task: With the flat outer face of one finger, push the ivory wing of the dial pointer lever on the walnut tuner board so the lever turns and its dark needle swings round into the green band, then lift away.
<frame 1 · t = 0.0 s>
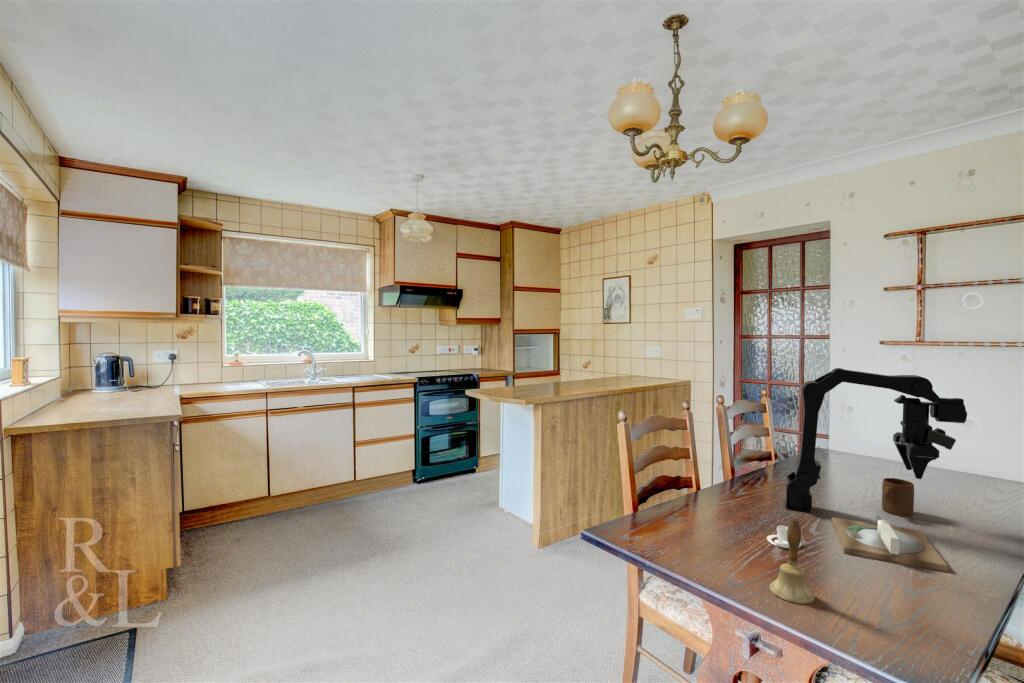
hand: (913, 474, 137), 15 cm above the table, tool pointing down, fingers open, 9 cm apart
hand bell: (791, 594, 102), on the table
mug: (894, 514, 146), on the table
tuner board: (883, 544, 125), on the table
dial pointer lever: (885, 532, 123), point 4 cm above the table, hinge at 0.0°
teacup and saucer: (771, 543, 127), on the table
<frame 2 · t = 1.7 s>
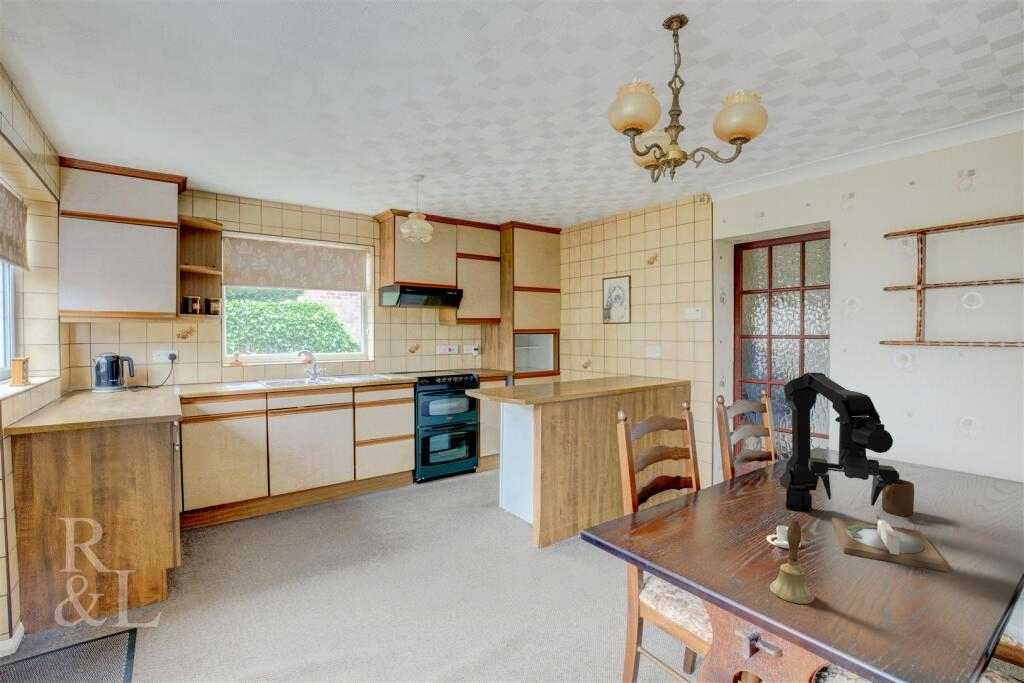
hand: (850, 502, 124), 11 cm above the table, tool pointing down, fingers open, 9 cm apart
nothing on the table moved.
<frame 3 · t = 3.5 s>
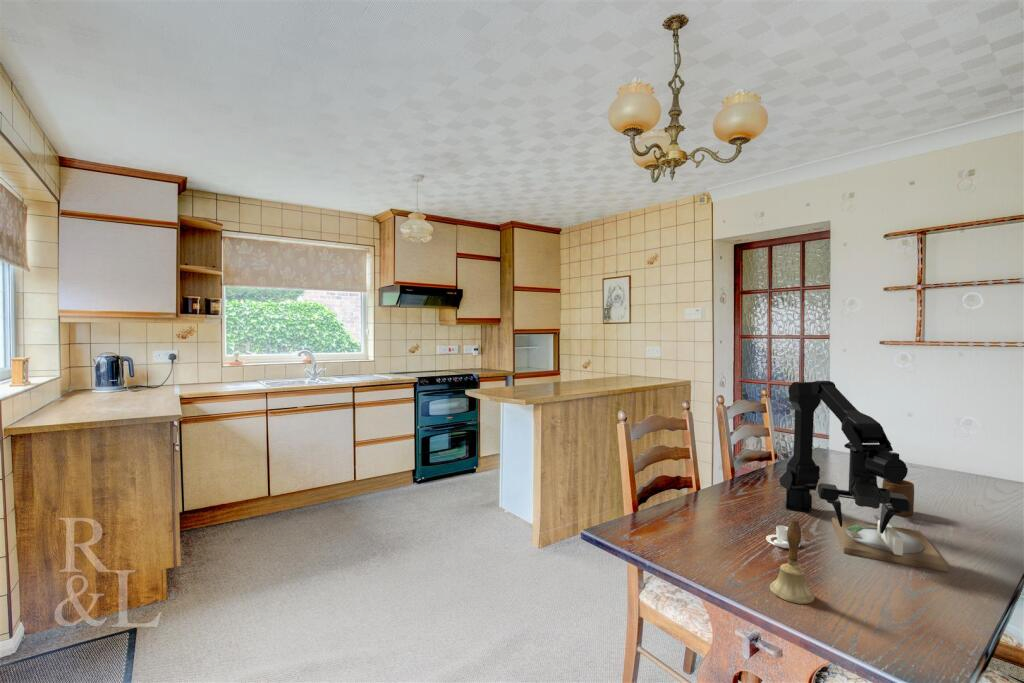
hand: (860, 529, 123), 5 cm above the table, tool pointing down, fingers open, 8 cm apart
dial pointer lever: (886, 532, 123), point 4 cm above the table, hinge at 4.0°, touching gripper
everything else where it was.
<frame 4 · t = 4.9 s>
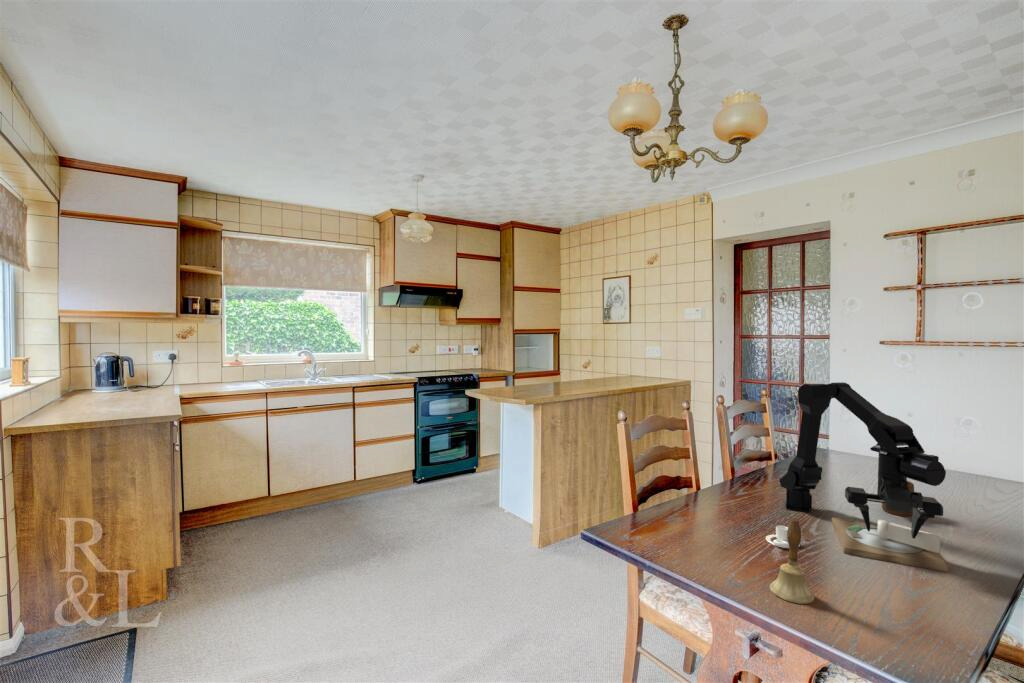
hand: (890, 534, 121), 5 cm above the table, tool pointing down, fingers open, 9 cm apart
dial pointer lever: (893, 532, 123), point 4 cm above the table, hinge at 64.2°
everything else where it was.
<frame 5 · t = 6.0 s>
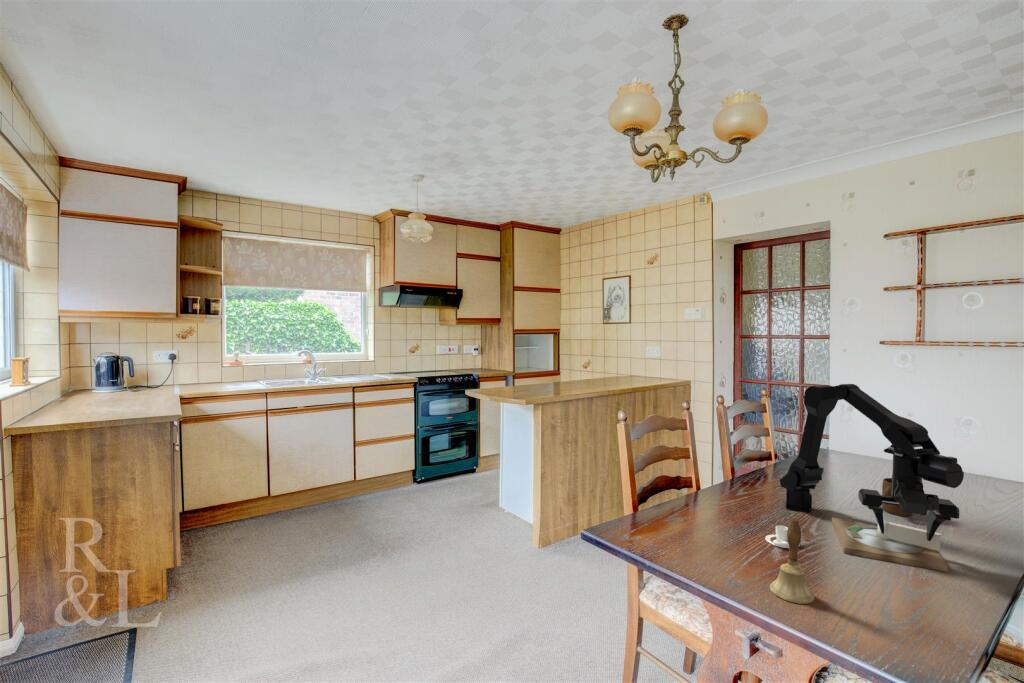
hand: (905, 536, 119), 5 cm above the table, tool pointing down, fingers open, 9 cm apart
dial pointer lever: (893, 532, 124), point 4 cm above the table, hinge at 72.8°, touching gripper
everything else where it was.
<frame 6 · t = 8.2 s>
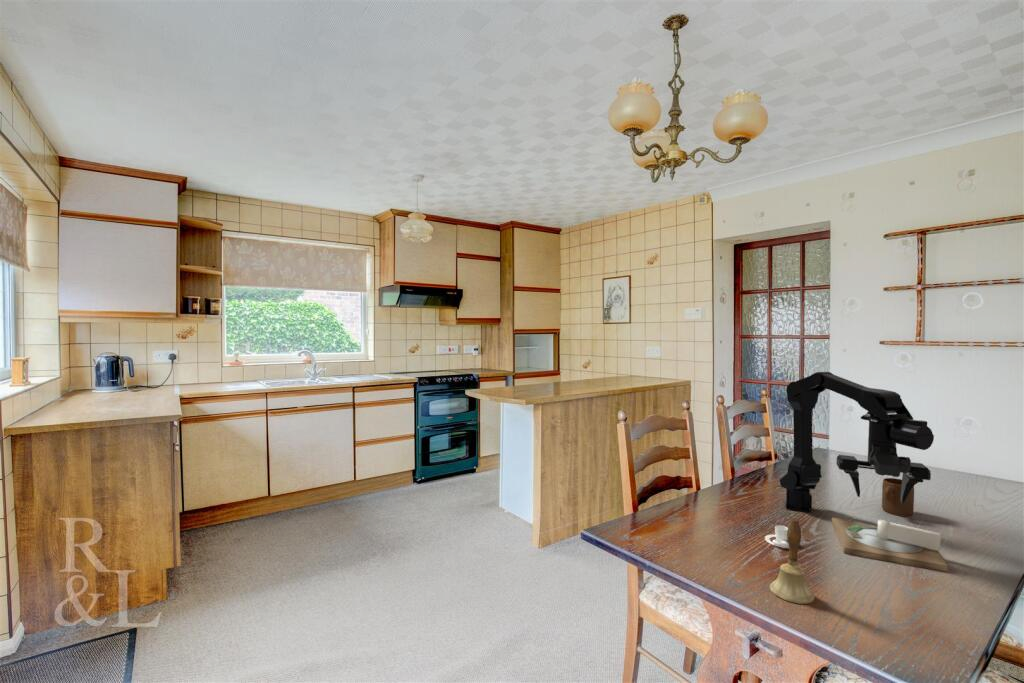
hand: (880, 499, 125), 12 cm above the table, tool pointing down, fingers open, 9 cm apart
dial pointer lever: (893, 531, 124), point 4 cm above the table, hinge at 73.2°
everything else where it was.
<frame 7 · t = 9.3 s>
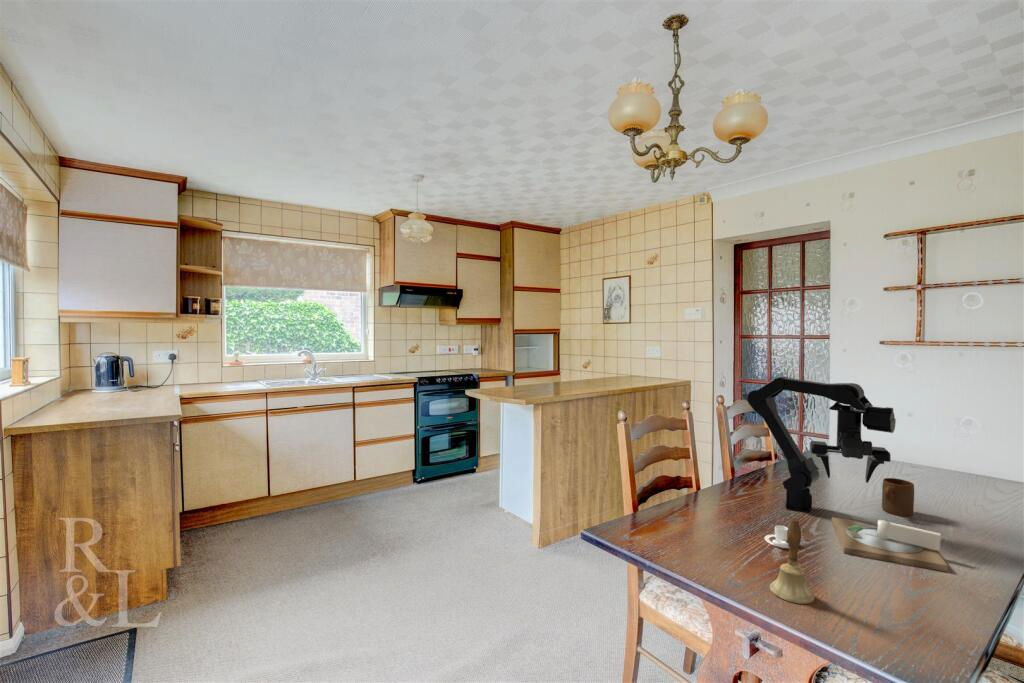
hand: (847, 480, 140), 12 cm above the table, tool pointing down, fingers open, 9 cm apart
nothing on the table moved.
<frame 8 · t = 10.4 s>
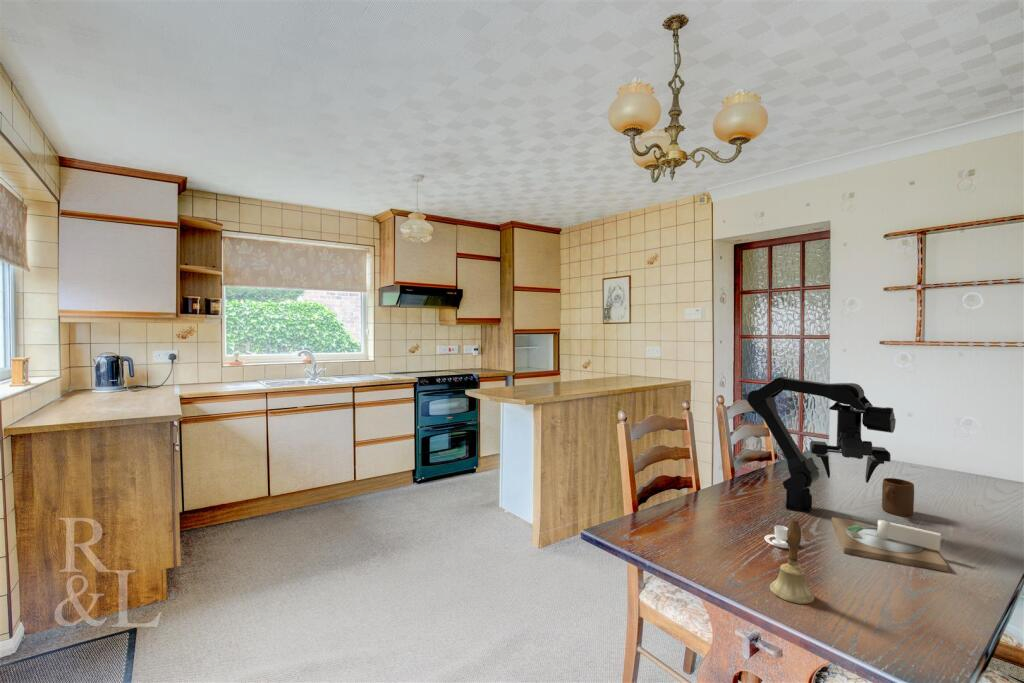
hand: (847, 480, 140), 12 cm above the table, tool pointing down, fingers open, 9 cm apart
nothing on the table moved.
at the end: dial pointer lever at +73° (first picture: +0°) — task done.
